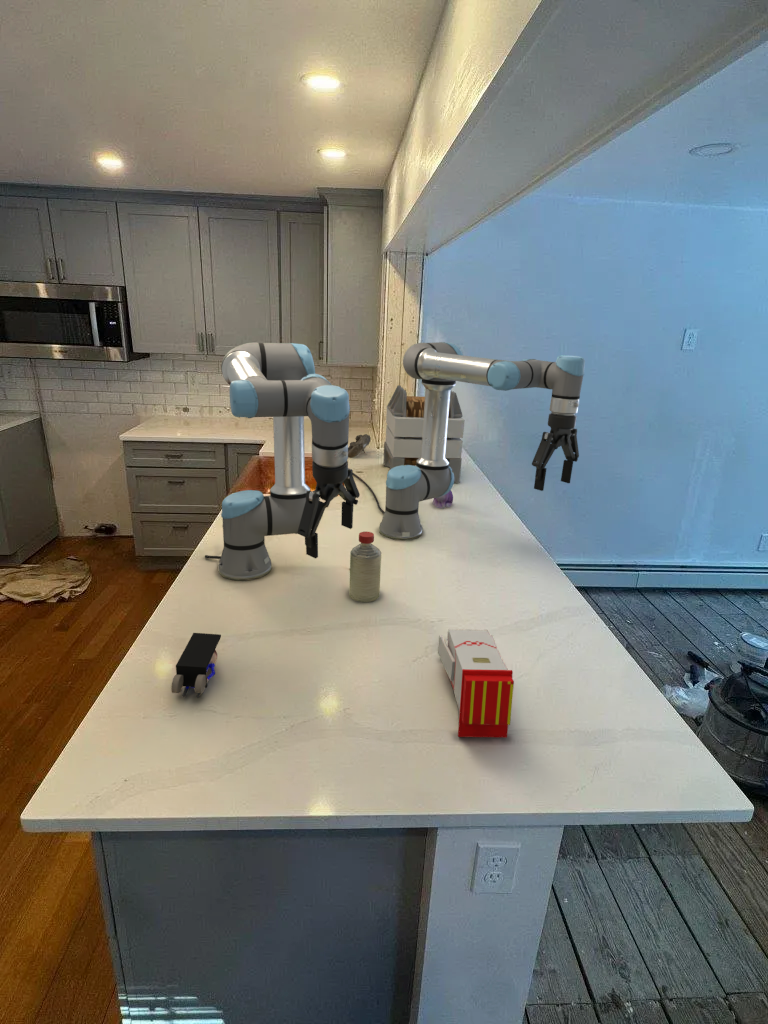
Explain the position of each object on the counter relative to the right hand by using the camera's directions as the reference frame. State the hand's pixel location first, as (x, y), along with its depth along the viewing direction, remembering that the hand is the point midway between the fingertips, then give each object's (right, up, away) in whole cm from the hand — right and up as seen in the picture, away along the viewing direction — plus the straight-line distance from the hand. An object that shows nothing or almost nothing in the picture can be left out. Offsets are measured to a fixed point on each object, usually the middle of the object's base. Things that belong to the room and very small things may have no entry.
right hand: (552, 485), depth 166 cm
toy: (-31, -45, -47) cm, 72 cm away
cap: (-54, -14, -15) cm, 58 cm away
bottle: (-55, -31, -9) cm, 63 cm away
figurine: (-25, -5, +65) cm, 70 cm away
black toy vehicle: (-88, -43, -48) cm, 109 cm away
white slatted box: (-32, +11, +109) cm, 115 cm away
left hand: (-62, -14, -34) cm, 72 cm away
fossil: (-63, +24, +141) cm, 156 cm away
